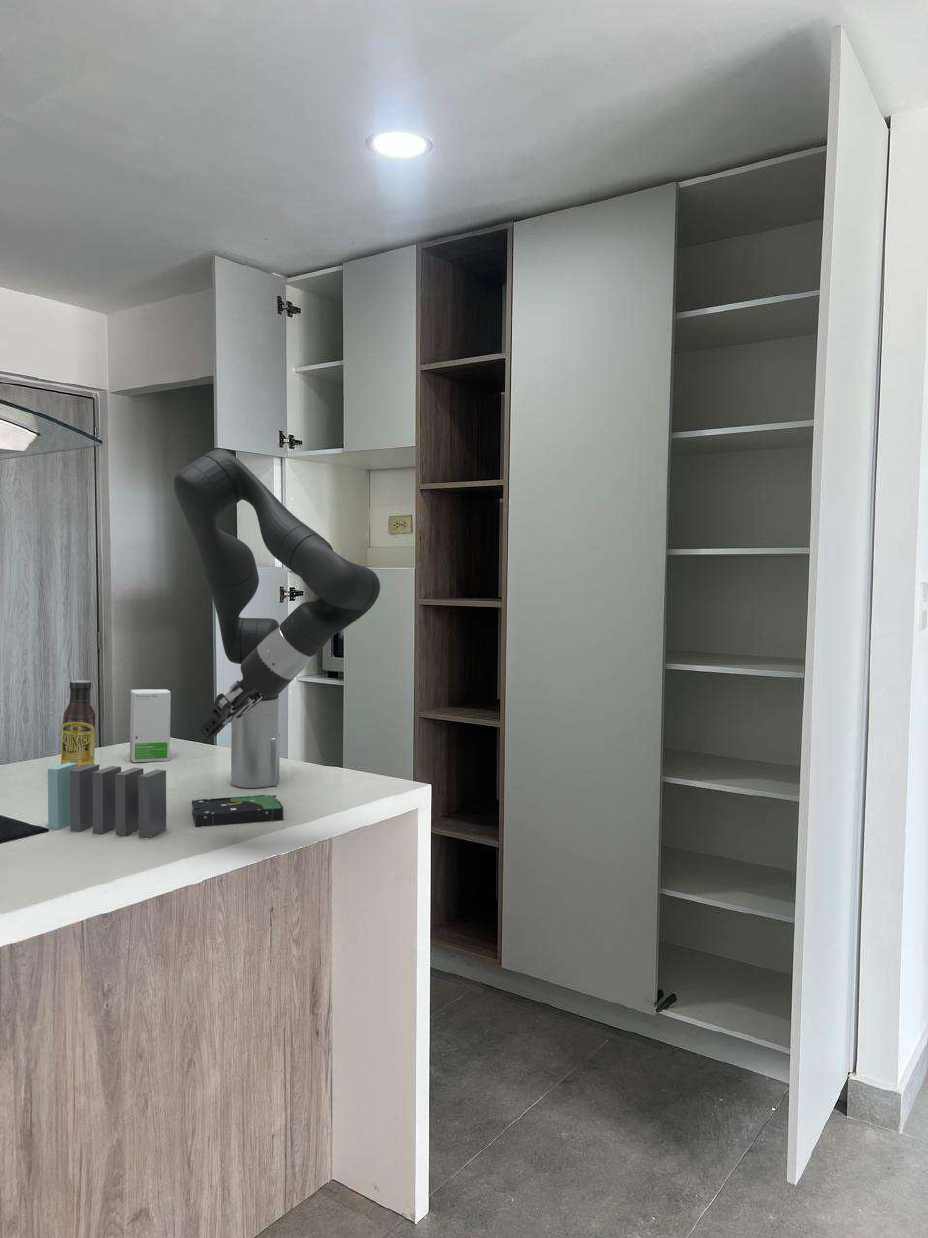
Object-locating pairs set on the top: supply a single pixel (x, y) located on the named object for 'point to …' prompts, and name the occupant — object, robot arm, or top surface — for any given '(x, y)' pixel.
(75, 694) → the sauce bottle
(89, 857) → the top surface
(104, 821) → the domino
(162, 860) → the top surface
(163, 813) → the domino
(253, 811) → the disk drive
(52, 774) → the domino
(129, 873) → the top surface
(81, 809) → the domino
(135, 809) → the domino
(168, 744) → the skincare box
